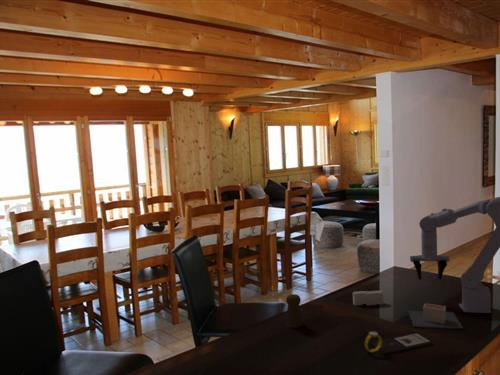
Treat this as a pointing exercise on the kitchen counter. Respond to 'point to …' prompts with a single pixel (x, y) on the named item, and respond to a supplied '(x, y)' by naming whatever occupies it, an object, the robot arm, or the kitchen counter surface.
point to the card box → (434, 313)
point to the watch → (371, 334)
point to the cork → (293, 311)
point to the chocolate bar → (401, 343)
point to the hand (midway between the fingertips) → (429, 278)
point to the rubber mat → (449, 323)
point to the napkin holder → (368, 297)
